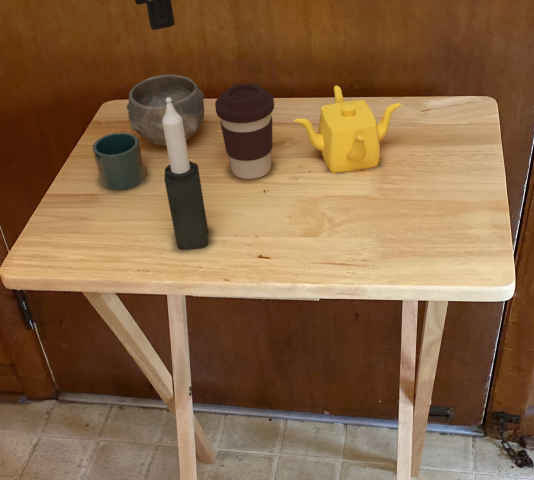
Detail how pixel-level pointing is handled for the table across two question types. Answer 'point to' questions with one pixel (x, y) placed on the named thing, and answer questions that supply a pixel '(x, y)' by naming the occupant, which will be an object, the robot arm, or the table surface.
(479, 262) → the table surface
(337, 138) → the teapot
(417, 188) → the table surface
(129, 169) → the cup
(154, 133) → the bowl
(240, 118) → the coffee cup
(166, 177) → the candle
